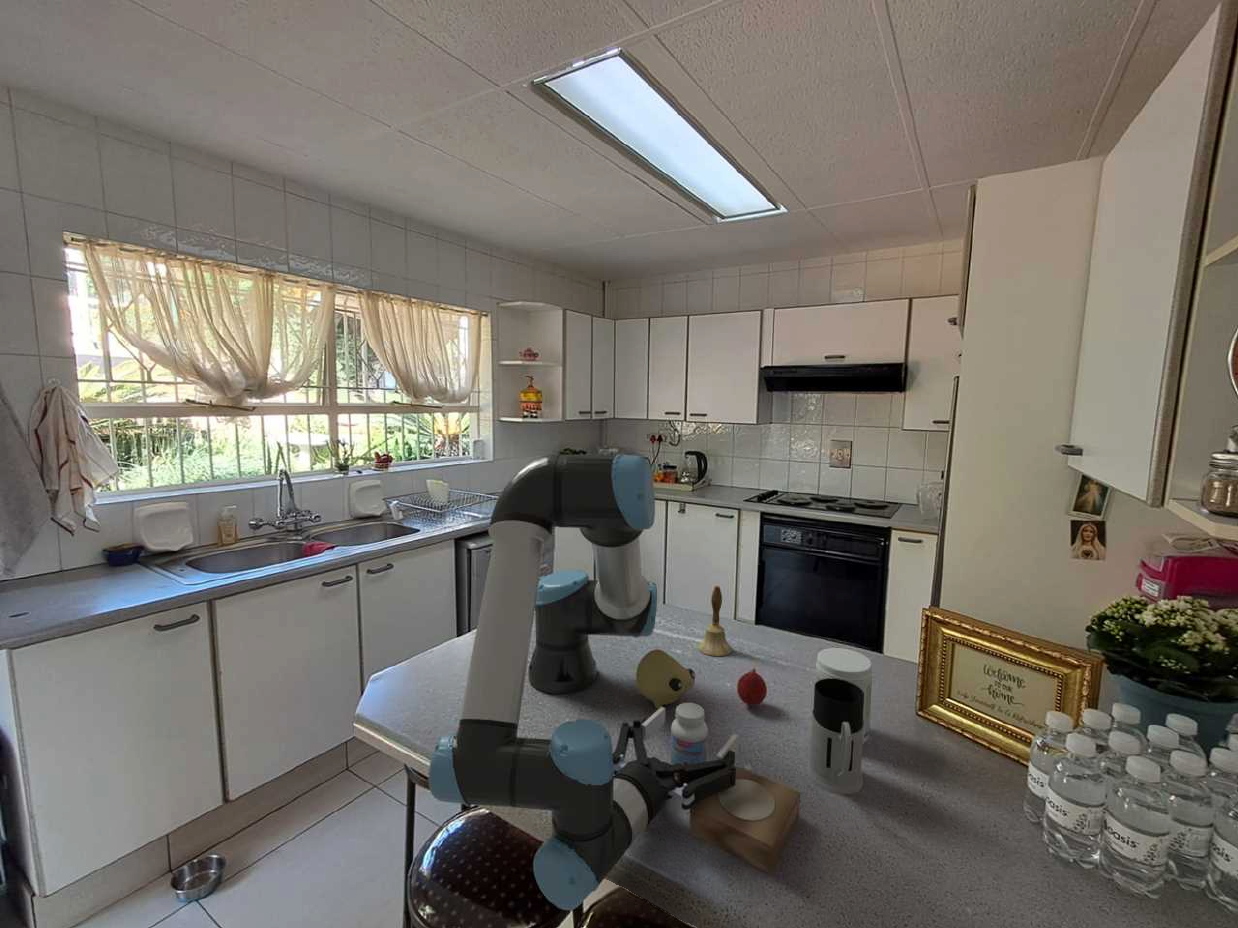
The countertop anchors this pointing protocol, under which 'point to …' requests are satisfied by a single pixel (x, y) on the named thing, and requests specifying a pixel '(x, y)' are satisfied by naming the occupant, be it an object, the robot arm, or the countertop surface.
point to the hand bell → (715, 631)
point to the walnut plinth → (748, 819)
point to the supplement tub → (848, 674)
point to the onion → (751, 688)
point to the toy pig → (663, 678)
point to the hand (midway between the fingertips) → (698, 727)
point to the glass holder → (837, 736)
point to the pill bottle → (689, 736)
